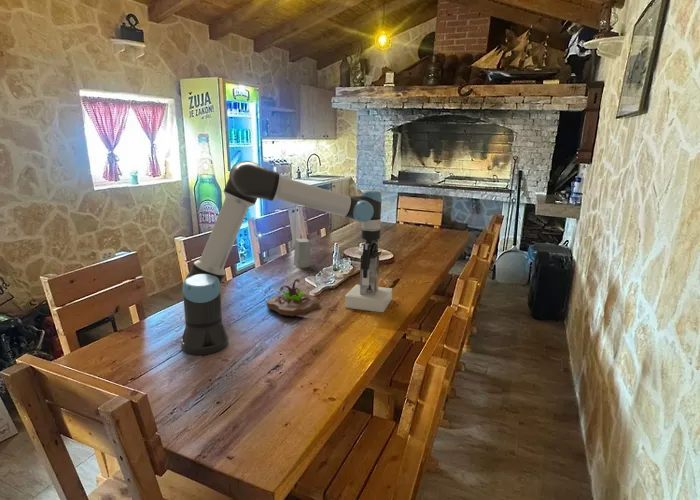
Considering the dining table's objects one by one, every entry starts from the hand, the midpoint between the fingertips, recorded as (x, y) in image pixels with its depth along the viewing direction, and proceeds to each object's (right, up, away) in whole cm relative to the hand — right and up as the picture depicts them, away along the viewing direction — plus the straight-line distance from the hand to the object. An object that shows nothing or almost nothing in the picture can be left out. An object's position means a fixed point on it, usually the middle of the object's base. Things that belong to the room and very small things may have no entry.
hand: (369, 280), depth 174 cm
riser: (0, -10, +2) cm, 10 cm away
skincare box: (-34, +3, +53) cm, 63 cm away
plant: (-31, -11, -1) cm, 33 cm away
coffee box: (0, -5, +1) cm, 5 cm away
